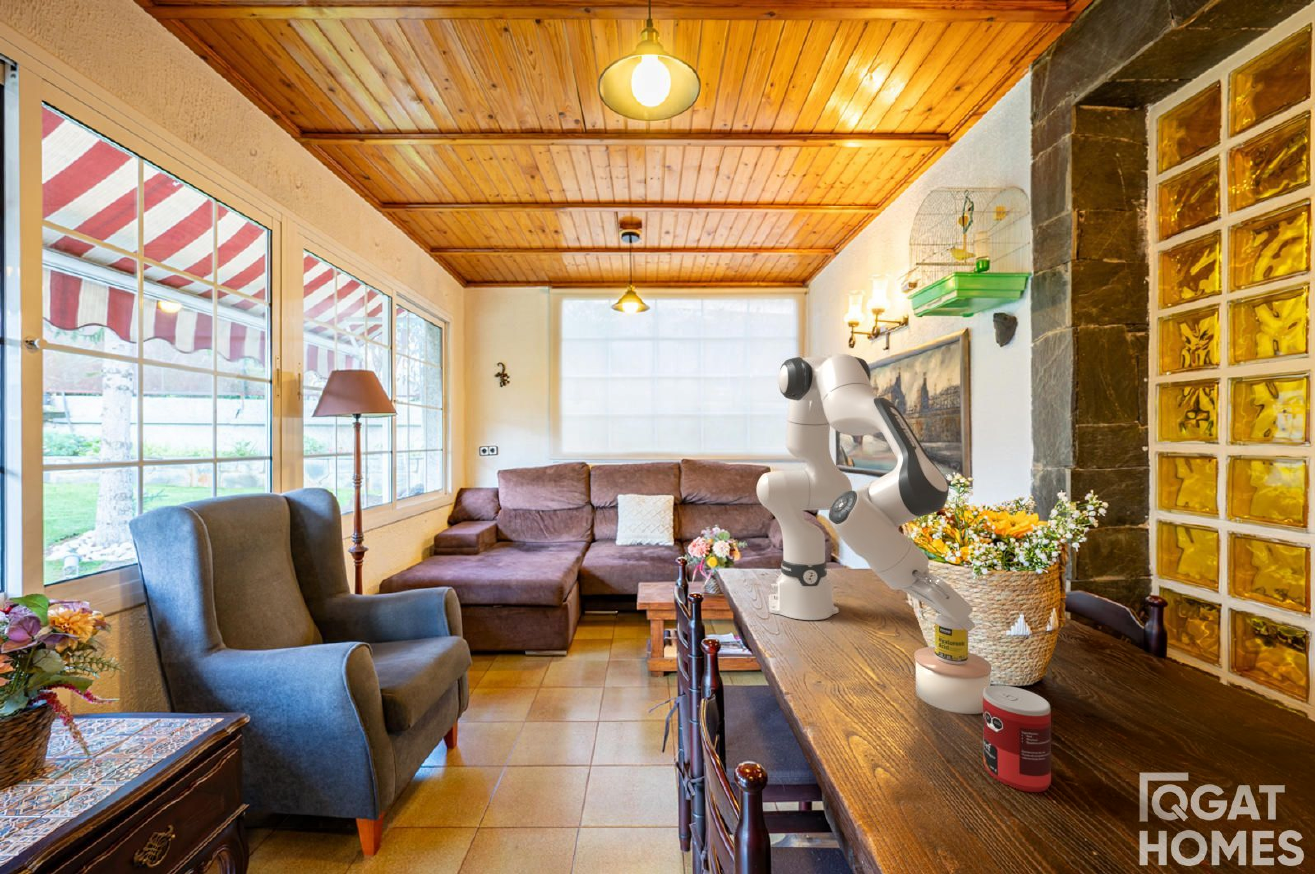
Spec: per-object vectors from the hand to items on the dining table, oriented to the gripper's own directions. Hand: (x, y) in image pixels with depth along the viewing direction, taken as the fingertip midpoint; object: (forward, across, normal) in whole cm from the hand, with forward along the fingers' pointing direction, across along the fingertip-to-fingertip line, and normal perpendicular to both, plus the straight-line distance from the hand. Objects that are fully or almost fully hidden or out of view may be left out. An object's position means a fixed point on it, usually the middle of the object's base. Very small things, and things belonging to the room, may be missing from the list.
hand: (954, 618), depth 99 cm
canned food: (+7, -23, +14) cm, 28 cm away
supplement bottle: (+5, 0, +6) cm, 8 cm away
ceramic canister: (+10, 0, +11) cm, 15 cm away
